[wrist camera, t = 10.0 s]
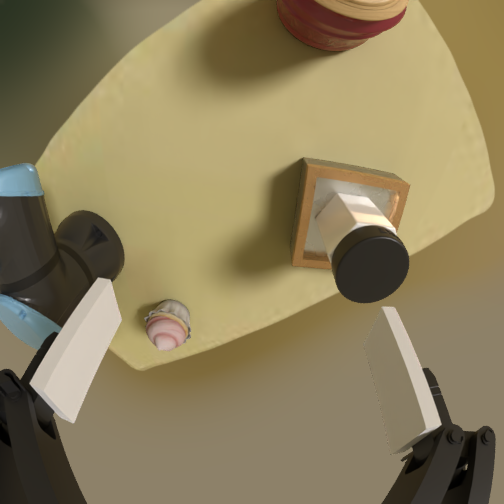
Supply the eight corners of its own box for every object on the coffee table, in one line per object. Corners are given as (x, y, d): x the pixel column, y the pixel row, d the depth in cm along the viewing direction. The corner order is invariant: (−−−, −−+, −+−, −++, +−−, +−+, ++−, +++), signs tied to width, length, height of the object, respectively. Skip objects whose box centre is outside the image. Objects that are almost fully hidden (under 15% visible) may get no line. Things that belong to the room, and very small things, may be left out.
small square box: (289, 250, 43) (291, 270, 38) (303, 157, 35) (308, 166, 31) (370, 258, 43) (380, 277, 38) (393, 173, 35) (410, 185, 30)
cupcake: (143, 303, 51) (125, 340, 43) (174, 285, 48) (156, 324, 40) (174, 332, 55) (161, 369, 46) (206, 318, 52) (196, 358, 43)
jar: (380, 238, 36) (414, 290, 26) (329, 258, 38) (347, 316, 28) (365, 181, 32) (403, 220, 22) (307, 203, 34) (323, 251, 24)
